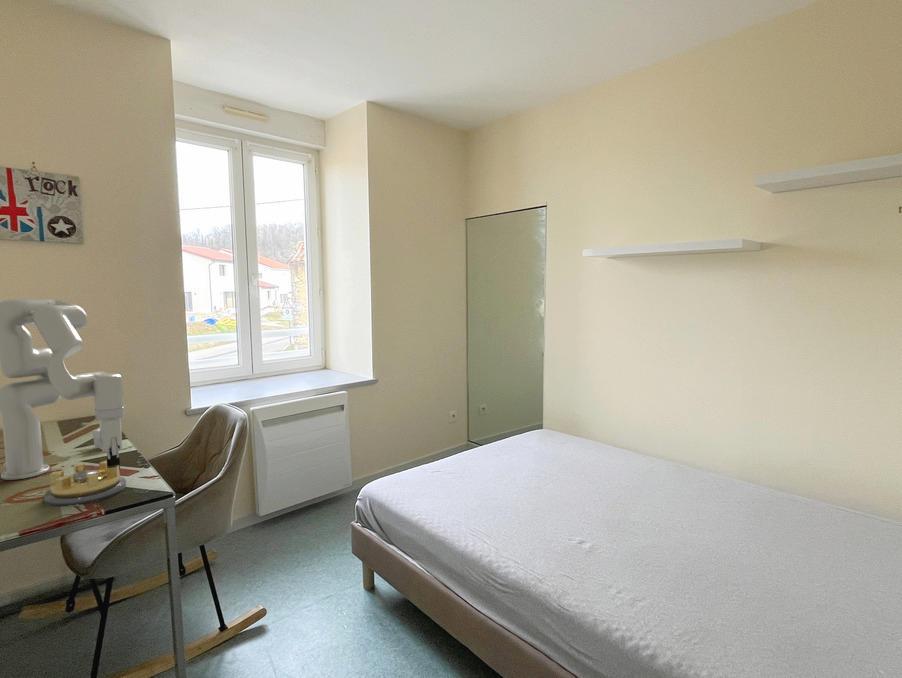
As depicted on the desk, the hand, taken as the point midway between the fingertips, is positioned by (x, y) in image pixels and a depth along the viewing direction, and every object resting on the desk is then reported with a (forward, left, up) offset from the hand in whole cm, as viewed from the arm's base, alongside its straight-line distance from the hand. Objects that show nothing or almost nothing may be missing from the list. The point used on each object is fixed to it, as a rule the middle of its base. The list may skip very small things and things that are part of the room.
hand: (113, 470), depth 155 cm
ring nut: (-3, -6, -3) cm, 8 cm away
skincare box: (-44, +30, -5) cm, 53 cm away
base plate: (-3, -6, -5) cm, 9 cm away
